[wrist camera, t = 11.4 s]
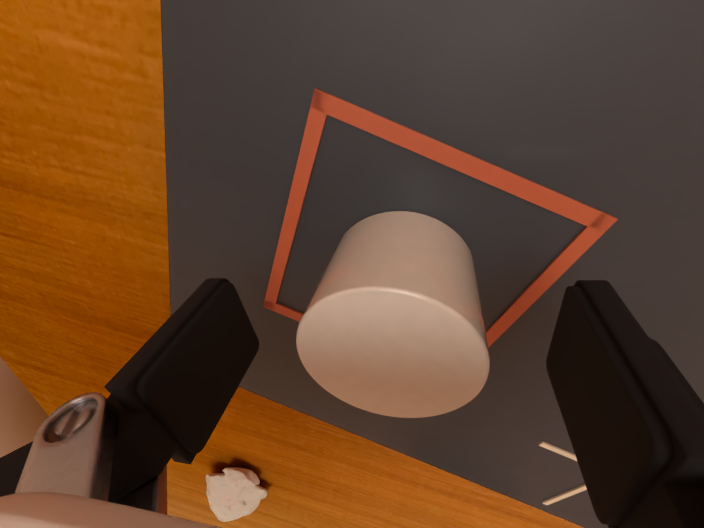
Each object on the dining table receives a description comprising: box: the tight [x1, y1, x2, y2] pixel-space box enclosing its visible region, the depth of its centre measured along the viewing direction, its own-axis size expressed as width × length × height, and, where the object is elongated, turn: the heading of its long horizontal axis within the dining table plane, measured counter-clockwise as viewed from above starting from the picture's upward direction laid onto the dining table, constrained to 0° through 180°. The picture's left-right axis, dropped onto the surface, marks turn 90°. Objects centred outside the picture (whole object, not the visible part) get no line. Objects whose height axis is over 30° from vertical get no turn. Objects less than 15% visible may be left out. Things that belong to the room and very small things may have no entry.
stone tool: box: [205, 467, 267, 522], centre depth 31 cm, size 6×2×15 cm
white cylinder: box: [296, 211, 490, 418], centre depth 10 cm, size 5×5×4 cm
